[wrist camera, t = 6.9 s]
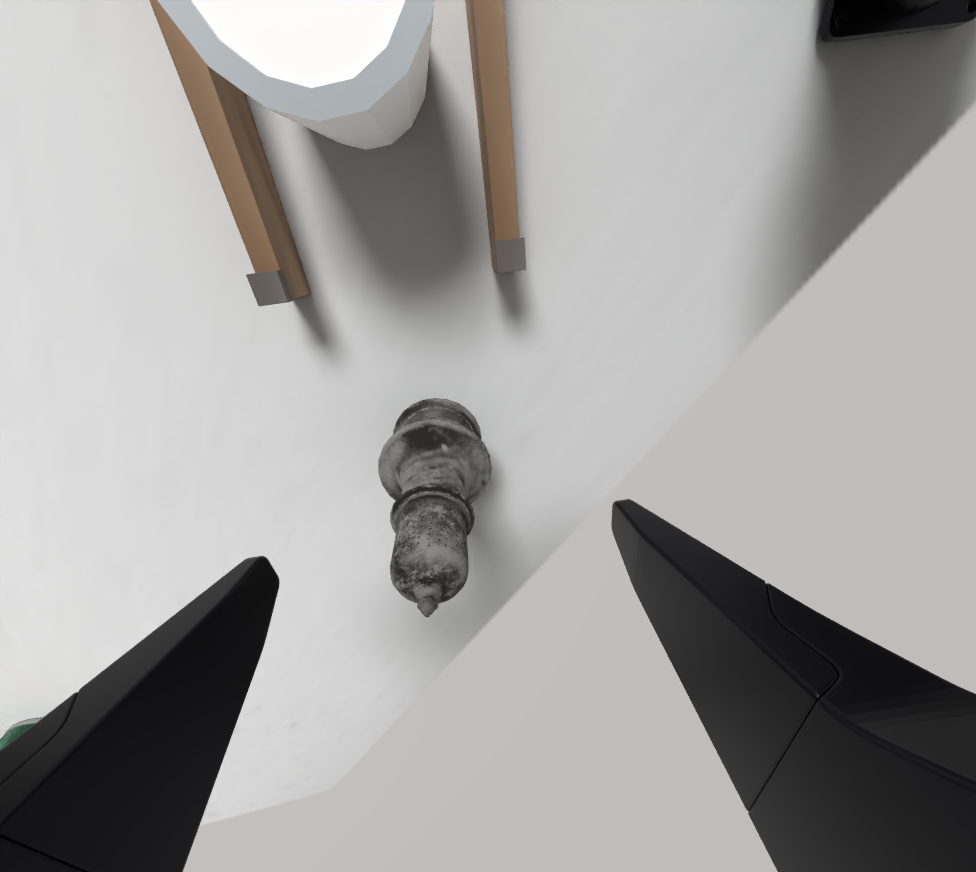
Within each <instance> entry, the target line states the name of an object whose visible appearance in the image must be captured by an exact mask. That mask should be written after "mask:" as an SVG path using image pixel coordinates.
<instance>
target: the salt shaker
mask: <svg viewBox="0 0 976 872" xmlns="http://www.w3.org/2000/svg"><path fill="white" fill-rule="evenodd" d="M490 473H491V462H490V455H489V453H488V451H487V449H486V447H485V444H484V443H483V442H482V441H481V435H480V429H479V425H478V423H477V421H476V419H475V417H474V416H473V415H472V414H471V413H470V412H469V411H468V410H467V409H466V408H464V407H463V406H461V405H460V404H458V403H456V402H453V401H450V400H447V399H437V398H434V399H427V400H422V401H420V402H417V403H415V404H413V405H411V406H410V407H409V408H407V409H406V410H405V411H404V412H403V413H402V414H401V416H400V417H399V418H398V420H397V422H396V425H395V428H394V433H393V435H392V436H391V437H390V438H389V440H388V441H387V442H386V444H385V445H384V447H383V449H382V452H381V455H380V458H379V476H380V479H381V482H382V485H383V487H384V488H385V490H386V491H387V492H388V494H389V495H390V496H391V497H392V498H393V499H394V500H395V503H394V504H393V507H392V510H391V513H390V522H391V525H392V528H393V530H394V532H395V533H396V537H395V543H394V548H393V554H392V559H391V565H390V574H391V580H392V583H393V585H394V587H395V588H396V589H397V590H398V591H399V593H400V594H401V595H402V596H403V597H405V598H406V599H408V600H410V601H413V602H415V603H418V604H417V608H418V609H419V610H420V611H421V612H422V614H424V615H425V617H429V616H430V615H431V614H432V613H433V612H434V611H435V610H436V609H437V608H438V603H442V602H445V601H448V600H449V599H451V598H453V597H454V596H455V595H456V594H457V593H458V592H459V591H460V590H461V589H462V588H463V586H464V584H465V582H466V580H467V575H468V568H469V567H468V550H467V536H468V535H469V533H470V531H471V529H472V527H473V524H474V513H473V508H472V506H471V503H472V502H474V501H475V500H476V499H477V498H478V497H479V496H480V495H481V494H482V492H483V491H484V490H485V488H486V486H487V484H488V482H489V479H490Z"/></svg>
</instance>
